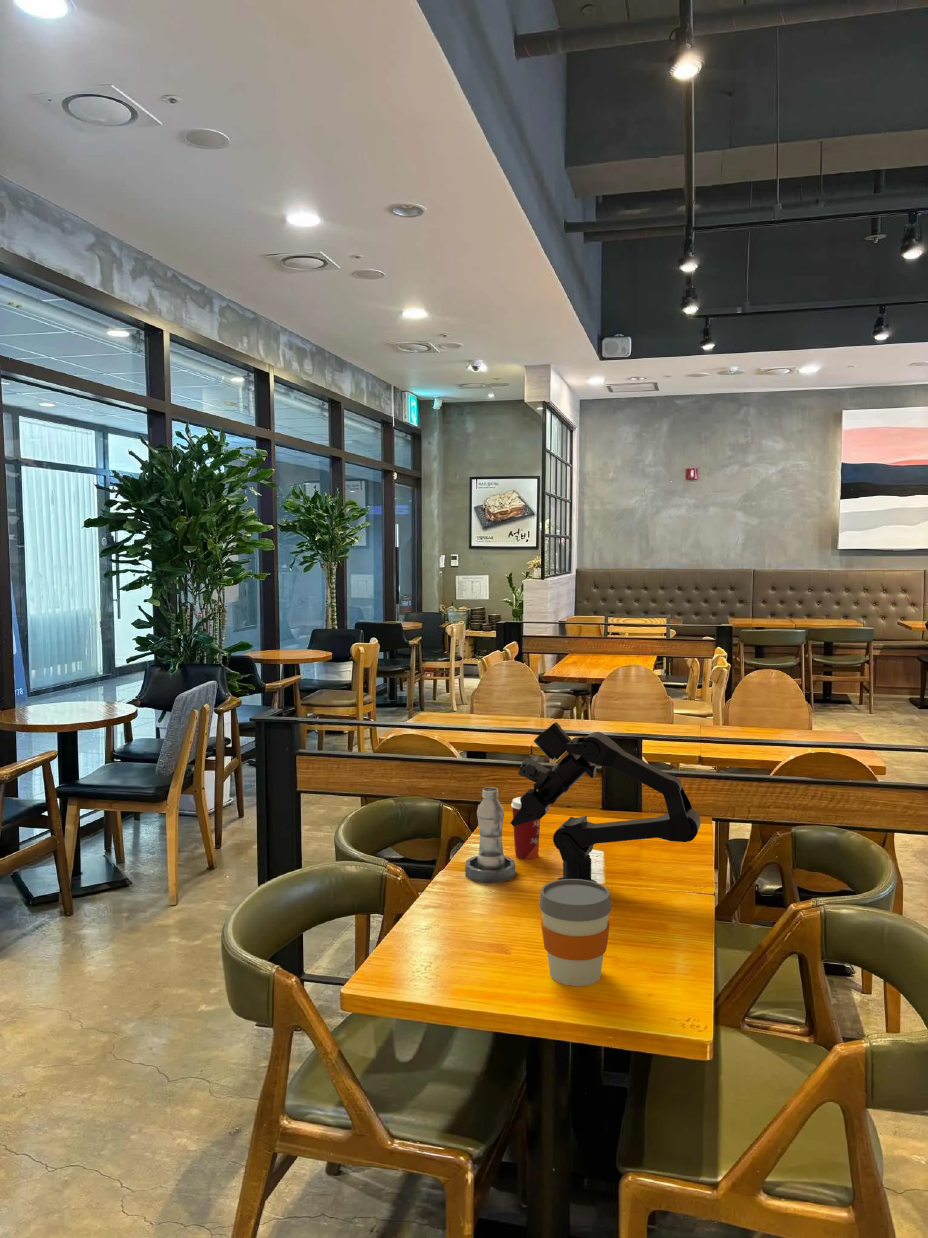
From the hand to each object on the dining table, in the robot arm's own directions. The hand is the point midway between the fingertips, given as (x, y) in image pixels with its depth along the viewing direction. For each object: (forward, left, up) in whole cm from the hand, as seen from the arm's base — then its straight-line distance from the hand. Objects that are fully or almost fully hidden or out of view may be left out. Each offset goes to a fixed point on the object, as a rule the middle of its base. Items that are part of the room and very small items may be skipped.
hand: (517, 818), depth 202 cm
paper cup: (+11, -9, -14) cm, 20 cm away
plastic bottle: (+5, +4, -14) cm, 15 cm away
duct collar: (+5, +5, -14) cm, 15 cm away
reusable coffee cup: (-45, +17, -14) cm, 50 cm away
